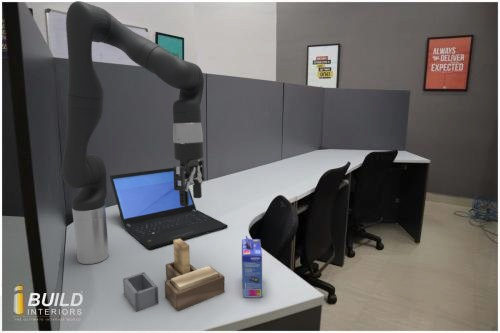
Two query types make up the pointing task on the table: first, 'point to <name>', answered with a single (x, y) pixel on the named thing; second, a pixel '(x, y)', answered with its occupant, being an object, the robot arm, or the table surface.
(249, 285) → the ink cartridge box
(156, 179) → the laptop
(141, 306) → the holder
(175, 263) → the oak slat
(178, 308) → the tray
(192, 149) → the robot arm
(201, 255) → the table surface
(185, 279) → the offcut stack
